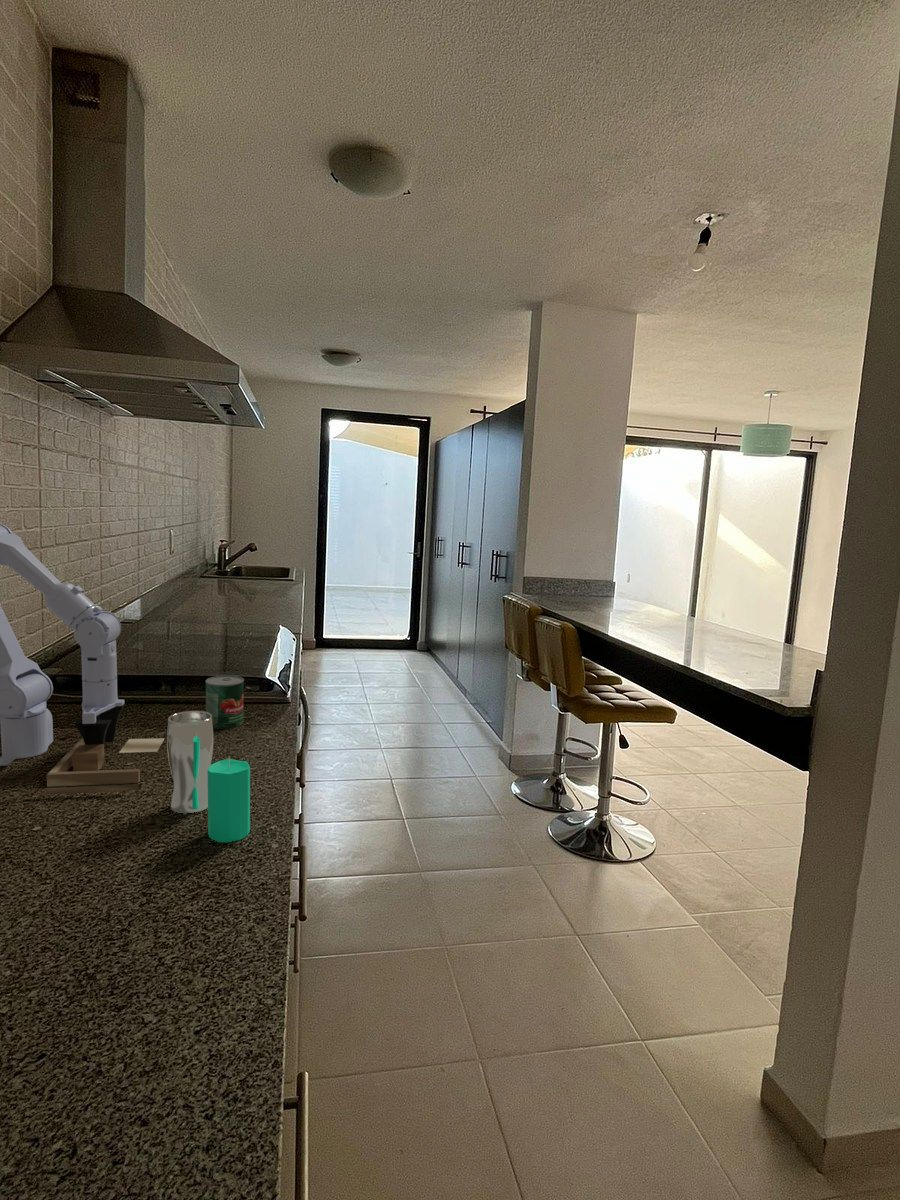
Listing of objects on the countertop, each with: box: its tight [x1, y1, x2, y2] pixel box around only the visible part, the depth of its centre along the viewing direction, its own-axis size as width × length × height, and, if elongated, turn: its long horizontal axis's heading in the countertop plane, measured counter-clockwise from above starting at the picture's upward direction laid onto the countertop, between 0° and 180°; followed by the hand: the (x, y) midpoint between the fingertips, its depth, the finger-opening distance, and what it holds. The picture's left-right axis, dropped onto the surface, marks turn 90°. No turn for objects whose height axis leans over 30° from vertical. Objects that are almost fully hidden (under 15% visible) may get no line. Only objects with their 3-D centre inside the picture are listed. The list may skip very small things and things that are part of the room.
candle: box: [207, 755, 251, 843], centre depth 98 cm, size 6×6×12 cm
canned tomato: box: [205, 675, 245, 730], centre depth 144 cm, size 8×8×11 cm
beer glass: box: [166, 710, 214, 815], centre depth 106 cm, size 7×7×15 cm
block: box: [72, 744, 106, 772], centre depth 117 cm, size 4×4×4 cm
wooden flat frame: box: [46, 736, 166, 795], centre depth 121 cm, size 22×14×3 cm, turn 12°
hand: (101, 748), depth 124 cm, fingers open, 7 cm apart
